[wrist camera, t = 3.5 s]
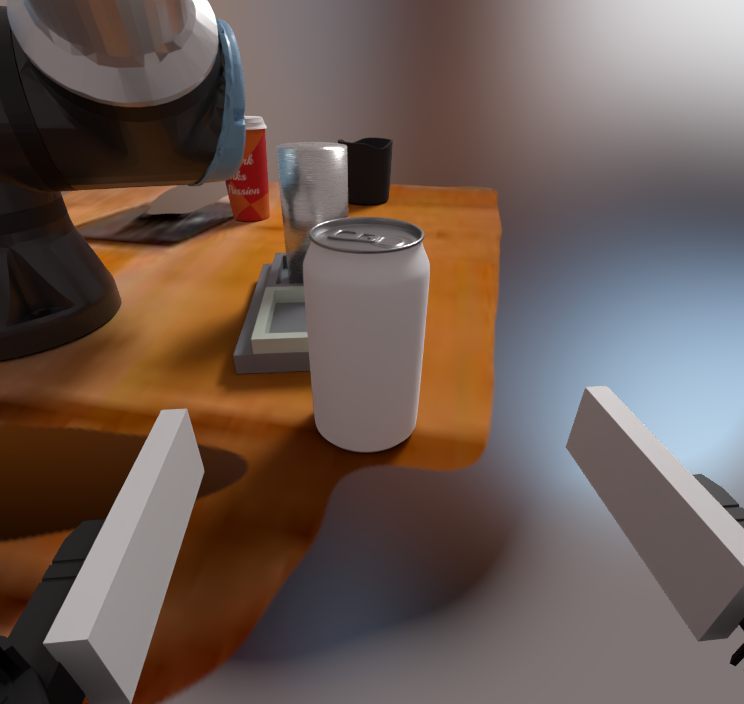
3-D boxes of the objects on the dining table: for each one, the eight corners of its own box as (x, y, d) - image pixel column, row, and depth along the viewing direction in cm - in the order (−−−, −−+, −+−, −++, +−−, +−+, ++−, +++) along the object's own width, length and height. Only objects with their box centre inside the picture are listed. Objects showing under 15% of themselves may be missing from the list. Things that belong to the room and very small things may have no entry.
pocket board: (236, 374, 31) (230, 341, 30) (265, 277, 47) (262, 253, 45) (398, 366, 32) (400, 334, 31) (374, 275, 48) (374, 250, 46)
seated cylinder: (286, 292, 40) (271, 150, 33) (290, 268, 45) (278, 142, 38) (351, 290, 40) (348, 150, 34) (348, 267, 45) (345, 142, 39)
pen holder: (343, 194, 83) (342, 136, 78) (391, 195, 83) (393, 137, 77) (336, 205, 75) (333, 142, 70) (389, 207, 75) (391, 143, 69)
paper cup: (216, 219, 67) (197, 117, 59) (250, 208, 73) (237, 114, 65) (254, 226, 64) (239, 119, 56) (286, 215, 69) (277, 116, 62)
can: (397, 470, 24) (409, 262, 17) (295, 439, 26) (272, 241, 19) (429, 402, 29) (447, 222, 22) (341, 380, 31) (336, 209, 24)
